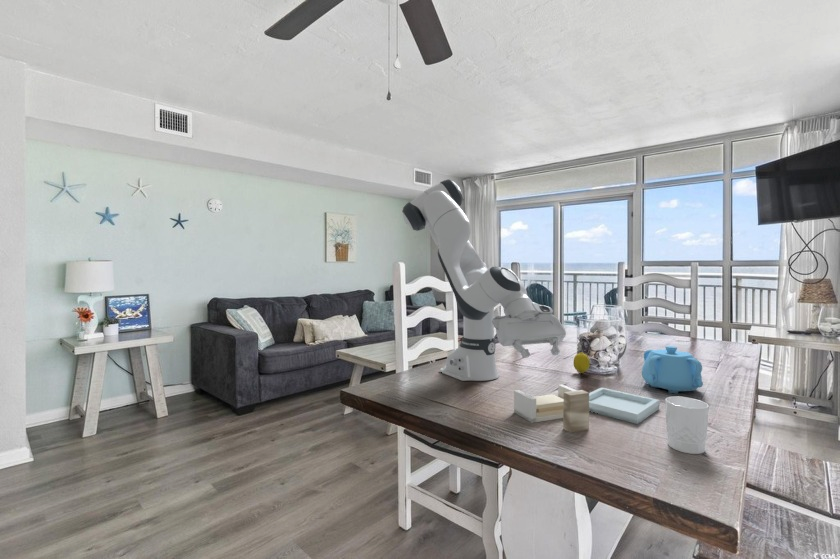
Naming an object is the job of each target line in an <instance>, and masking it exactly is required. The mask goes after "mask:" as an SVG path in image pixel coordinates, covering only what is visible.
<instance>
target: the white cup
mask: <svg viewBox="0 0 840 559" xmlns="http://www.w3.org/2000/svg"><path fill="white" fill-rule="evenodd" d="M664 399H665V400H664V402H665V403H664V404H665V424H666V433H667V436H666V437H667V444H668V446H669V447H670V448H672V449H673V450H674V451H678V452H681V453H685V454H689V455H690V454H691V455H701V454H704V453H705V451H706V440H707V435H708V434H707V433H708V422H709V409H710V406H709V405H710V404H708V403H707V402H705V401H702V400H700V399H696V398H692V397H687V396H677V395H676V396H675V395H674V396H668V397H666V398H664Z"/></svg>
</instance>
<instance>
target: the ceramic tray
mask: <svg viewBox="0 0 840 559" xmlns="http://www.w3.org/2000/svg"><path fill="white" fill-rule="evenodd" d="M588 393H589V412H590V411H591V413H593V412H595V413H594V414H597V413H598V414H597V415H601V416H605V417H608V418H613V419H616V420H619V421H623V422H626V423H628V422H629V423H632V424H635V425H639V424H640V423H641V422H642V421H644V420H645V419H648V417H649V416H651V415H652V414H654V413H656V412H657V411H658V410H660V399H657V398H651V397H647V396H644V395H643V396H642V395H639V394H633V393H629V392H625V391H624V392H623V391H619V390H615V389H611V388H606V387H603V386H602V387H599V388H597V389H595V390H593V391H589V392H588Z"/></svg>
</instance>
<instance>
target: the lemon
mask: <svg viewBox="0 0 840 559" xmlns="http://www.w3.org/2000/svg"><path fill="white" fill-rule="evenodd" d="M573 368H574V369H575V370H576V371H577V372H579V373H580V374H581V373H582V374H584V373H585V372H587V371H588V370H589V368H590V359H589V357H588V355H587V354H585V353H584V352H582V351H581V352H579V353H577V354H576V355H574V358H573Z"/></svg>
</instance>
